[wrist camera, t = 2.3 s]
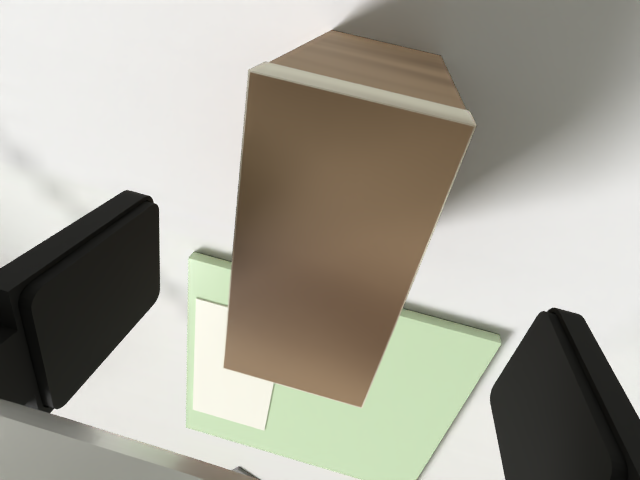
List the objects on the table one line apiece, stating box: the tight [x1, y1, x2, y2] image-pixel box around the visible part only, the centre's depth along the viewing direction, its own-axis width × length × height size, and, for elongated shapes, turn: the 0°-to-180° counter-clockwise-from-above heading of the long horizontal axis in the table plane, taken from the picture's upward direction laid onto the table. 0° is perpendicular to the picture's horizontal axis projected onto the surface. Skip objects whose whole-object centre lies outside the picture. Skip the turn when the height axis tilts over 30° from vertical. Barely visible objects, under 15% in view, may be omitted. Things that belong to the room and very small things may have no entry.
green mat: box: [186, 252, 502, 480], centre depth 25 cm, size 15×16×1 cm
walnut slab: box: [223, 30, 477, 408], centre depth 13 cm, size 8×4×9 cm, turn 169°
